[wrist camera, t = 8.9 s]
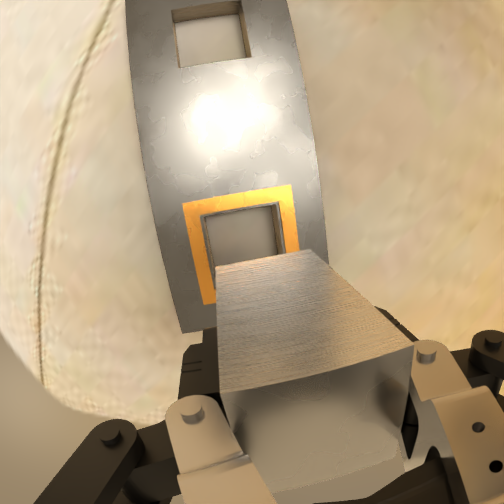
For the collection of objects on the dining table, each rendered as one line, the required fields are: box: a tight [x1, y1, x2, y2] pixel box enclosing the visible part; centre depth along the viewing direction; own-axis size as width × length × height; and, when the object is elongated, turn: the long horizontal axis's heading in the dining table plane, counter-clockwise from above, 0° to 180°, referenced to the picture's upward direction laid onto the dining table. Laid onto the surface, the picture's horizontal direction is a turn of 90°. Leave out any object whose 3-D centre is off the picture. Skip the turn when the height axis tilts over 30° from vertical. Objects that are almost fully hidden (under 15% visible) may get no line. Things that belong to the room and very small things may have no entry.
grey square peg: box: [215, 249, 414, 493], centre depth 10 cm, size 4×4×8 cm
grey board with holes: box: [125, 0, 329, 334], centre depth 22 cm, size 28×12×3 cm, turn 10°
